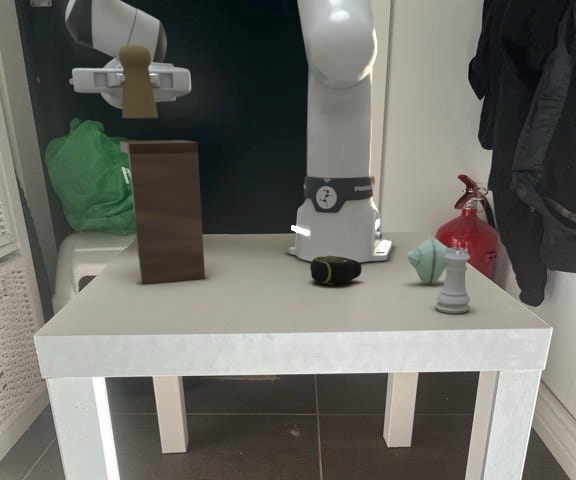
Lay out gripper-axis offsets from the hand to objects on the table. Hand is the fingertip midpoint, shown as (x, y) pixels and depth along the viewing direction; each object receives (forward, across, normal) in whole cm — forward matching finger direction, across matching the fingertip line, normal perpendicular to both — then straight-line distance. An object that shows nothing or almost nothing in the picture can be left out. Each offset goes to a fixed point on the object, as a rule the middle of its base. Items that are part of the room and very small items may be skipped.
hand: (138, 78), depth 107 cm
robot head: (+36, +36, +30) cm, 59 cm away
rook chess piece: (+49, +32, +30) cm, 66 cm away
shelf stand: (+14, 0, +30) cm, 33 cm away
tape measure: (+29, +23, +30) cm, 48 cm away
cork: (-1, 0, +6) cm, 6 cm away
